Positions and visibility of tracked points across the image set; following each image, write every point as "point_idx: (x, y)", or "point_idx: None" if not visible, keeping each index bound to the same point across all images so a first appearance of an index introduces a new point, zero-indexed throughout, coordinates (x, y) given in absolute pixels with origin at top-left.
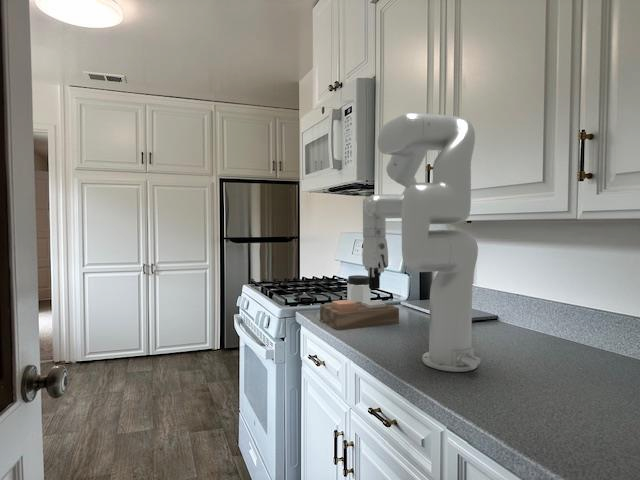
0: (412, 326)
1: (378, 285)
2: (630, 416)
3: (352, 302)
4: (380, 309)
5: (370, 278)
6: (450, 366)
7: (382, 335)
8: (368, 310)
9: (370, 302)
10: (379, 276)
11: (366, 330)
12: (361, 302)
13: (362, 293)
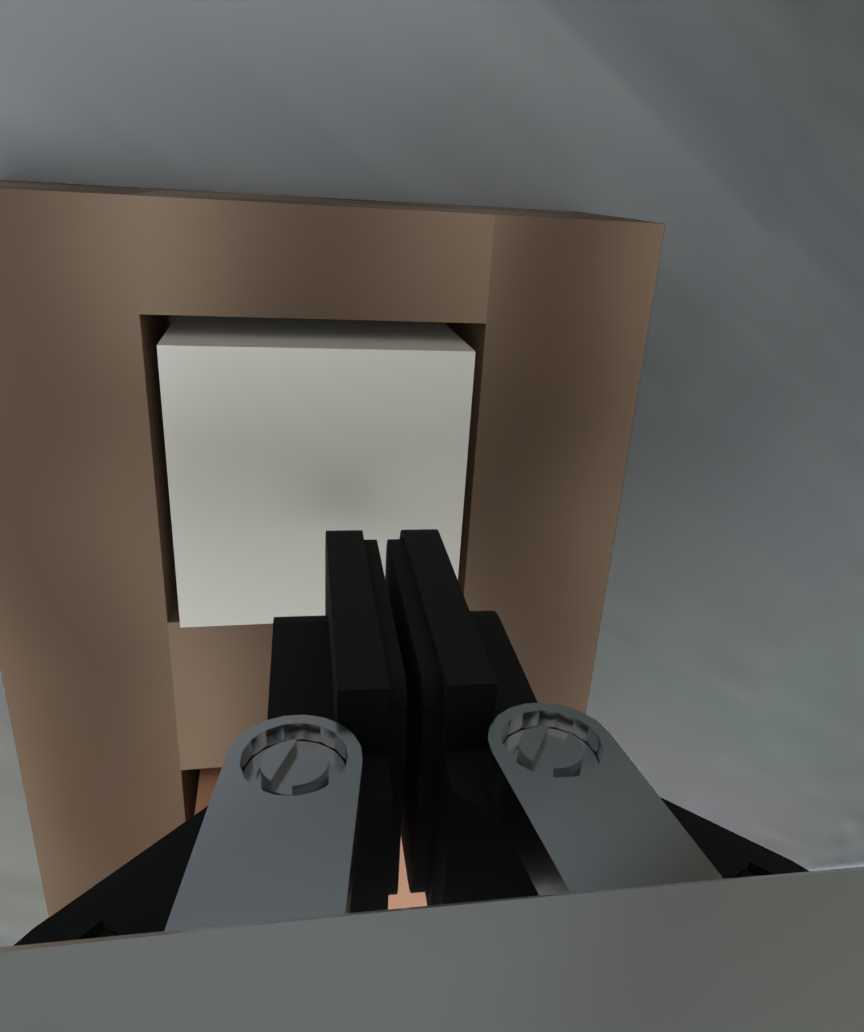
0: (766, 145)
1: (495, 614)
2: None
3: (400, 850)
4: (596, 520)
5: (397, 877)
6: None
7: (811, 604)
8: (566, 673)
9: (283, 526)
10: (579, 740)
11: (625, 655)
12: (184, 621)
13: None
